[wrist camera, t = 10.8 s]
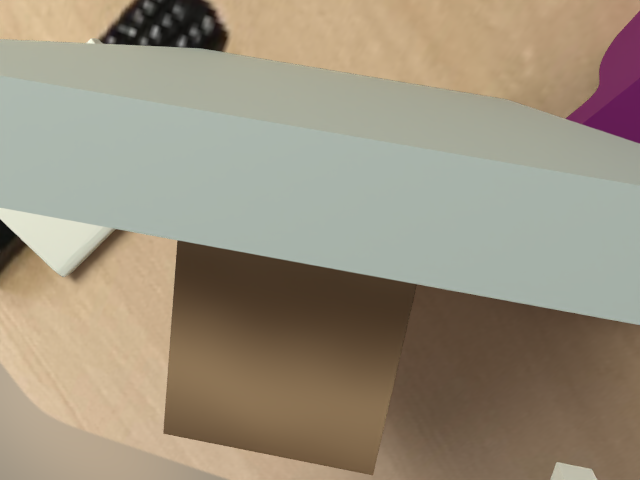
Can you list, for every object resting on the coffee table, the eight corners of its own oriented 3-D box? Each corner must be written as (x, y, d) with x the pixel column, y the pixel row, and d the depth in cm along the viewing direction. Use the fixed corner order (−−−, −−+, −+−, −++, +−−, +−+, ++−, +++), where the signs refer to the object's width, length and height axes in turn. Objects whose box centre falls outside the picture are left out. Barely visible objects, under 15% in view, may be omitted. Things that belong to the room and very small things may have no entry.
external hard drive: (-20, 178, 35) (102, 38, 32) (76, 270, 37) (202, 145, 33) (-38, 183, 34) (87, 36, 30) (62, 279, 35) (194, 149, 32)
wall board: (449, 320, 34) (585, 829, 12) (183, 270, 35) (-171, 657, 13) (507, 99, 30) (899, 230, 7) (201, 48, 31) (-293, 25, 8)
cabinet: (371, 348, 28) (367, 499, 18) (235, 322, 28) (161, 457, 19) (408, 173, 25) (425, 245, 15) (255, 147, 25) (180, 201, 16)
